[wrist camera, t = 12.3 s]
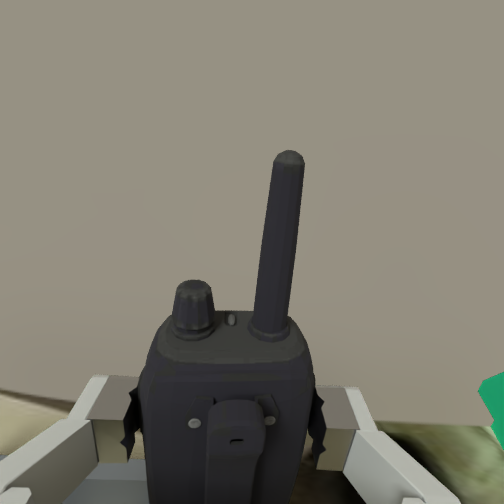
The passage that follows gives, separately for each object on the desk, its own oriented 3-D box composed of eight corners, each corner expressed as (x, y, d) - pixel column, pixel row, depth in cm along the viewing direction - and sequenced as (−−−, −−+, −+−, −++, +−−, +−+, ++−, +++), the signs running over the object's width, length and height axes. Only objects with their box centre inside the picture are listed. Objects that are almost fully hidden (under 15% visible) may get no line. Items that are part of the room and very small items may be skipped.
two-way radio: (277, 481, 14) (337, 150, 9) (301, 622, 10) (443, 175, 5) (157, 488, 14) (135, 134, 8) (132, 643, 10) (49, 148, 4)
